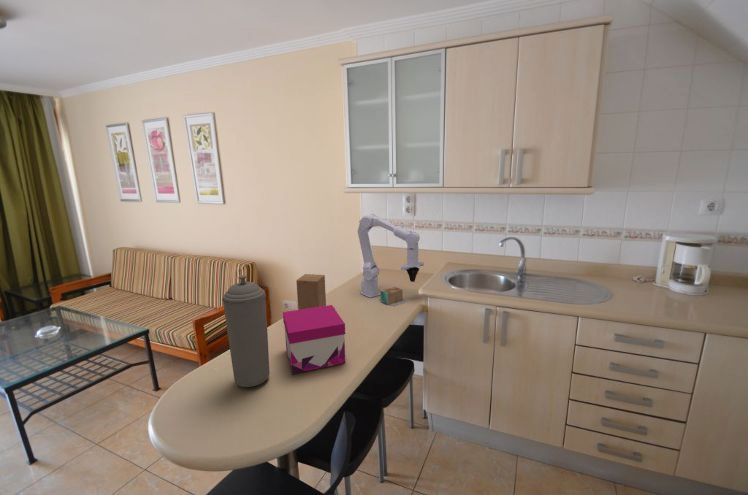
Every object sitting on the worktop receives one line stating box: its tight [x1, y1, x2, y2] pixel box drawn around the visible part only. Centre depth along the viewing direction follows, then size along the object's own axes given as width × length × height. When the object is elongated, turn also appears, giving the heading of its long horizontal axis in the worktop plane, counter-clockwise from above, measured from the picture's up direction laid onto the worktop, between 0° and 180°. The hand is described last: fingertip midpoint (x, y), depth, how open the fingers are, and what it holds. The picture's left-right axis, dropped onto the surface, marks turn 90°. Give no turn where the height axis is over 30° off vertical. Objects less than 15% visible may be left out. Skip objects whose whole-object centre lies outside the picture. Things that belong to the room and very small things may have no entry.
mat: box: [378, 298, 408, 307], centre depth 178 cm, size 12×11×1 cm
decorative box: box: [282, 304, 346, 375], centre depth 124 cm, size 19×19×15 cm
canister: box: [221, 274, 270, 388], centre depth 108 cm, size 13×13×35 cm
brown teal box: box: [379, 286, 404, 306], centre depth 176 cm, size 6×6×10 cm
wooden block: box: [296, 273, 327, 310], centre depth 156 cm, size 10×10×20 cm
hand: (412, 281), depth 177 cm, fingers closed
